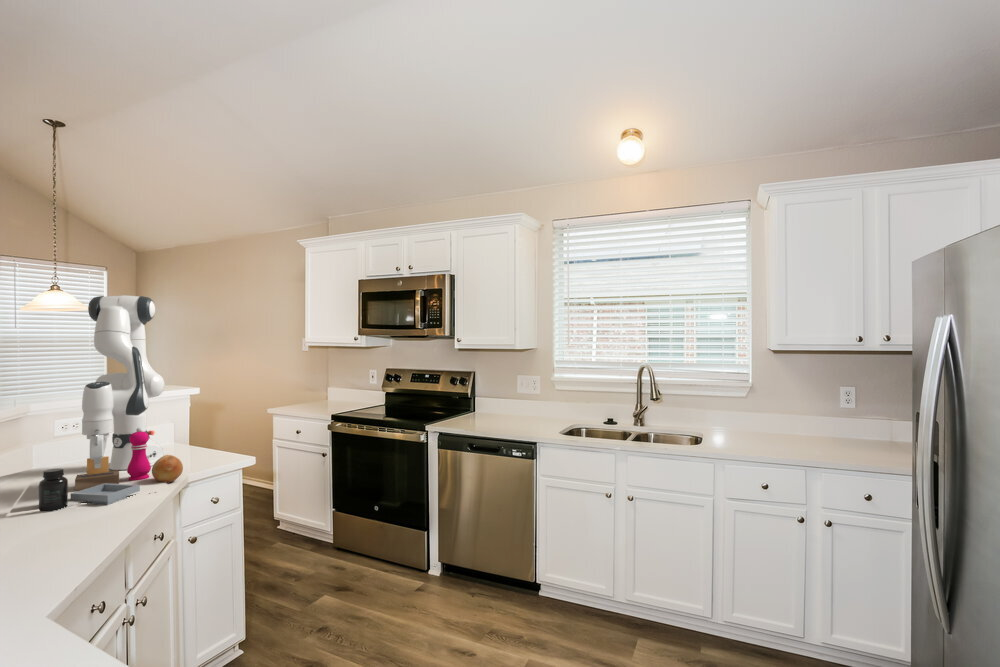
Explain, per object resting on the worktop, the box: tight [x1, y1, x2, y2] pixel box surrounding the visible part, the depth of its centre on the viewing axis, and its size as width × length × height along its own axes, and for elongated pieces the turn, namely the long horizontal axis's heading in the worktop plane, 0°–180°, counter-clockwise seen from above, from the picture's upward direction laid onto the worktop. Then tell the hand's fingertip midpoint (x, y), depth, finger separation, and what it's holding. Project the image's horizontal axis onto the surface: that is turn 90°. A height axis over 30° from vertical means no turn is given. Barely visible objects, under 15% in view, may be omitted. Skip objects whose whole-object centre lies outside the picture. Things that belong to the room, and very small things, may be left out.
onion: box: [151, 454, 184, 484], centre depth 191 cm, size 10×10×10 cm
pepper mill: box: [126, 427, 152, 482], centre depth 193 cm, size 7×7×20 cm
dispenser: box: [74, 470, 120, 492], centre depth 183 cm, size 8×12×6 cm, turn 125°
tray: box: [70, 483, 141, 506], centre depth 172 cm, size 12×14×3 cm
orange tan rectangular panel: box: [86, 455, 110, 475], centre depth 183 cm, size 1×6×10 cm, turn 125°
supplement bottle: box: [38, 467, 69, 512], centre depth 162 cm, size 7×7×12 cm
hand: (97, 467), depth 183 cm, fingers closed on orange tan rectangular panel, 1 cm apart
